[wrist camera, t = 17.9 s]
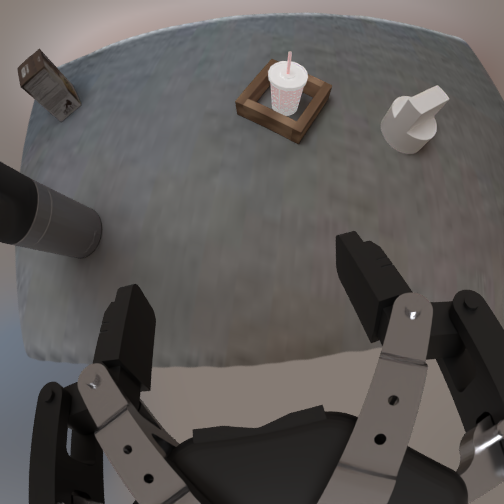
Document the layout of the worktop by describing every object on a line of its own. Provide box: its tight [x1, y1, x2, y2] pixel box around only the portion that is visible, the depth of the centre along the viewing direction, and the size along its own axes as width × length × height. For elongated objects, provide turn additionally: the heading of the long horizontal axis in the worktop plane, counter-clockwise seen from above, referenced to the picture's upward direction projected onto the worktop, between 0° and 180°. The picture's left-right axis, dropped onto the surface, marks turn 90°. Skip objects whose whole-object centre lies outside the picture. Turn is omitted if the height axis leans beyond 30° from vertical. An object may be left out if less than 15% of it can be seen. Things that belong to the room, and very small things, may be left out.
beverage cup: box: [268, 51, 308, 116], centre depth 40 cm, size 6×6×14 cm
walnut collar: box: [235, 59, 332, 144], centre depth 45 cm, size 12×12×4 cm
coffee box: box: [18, 49, 81, 122], centre depth 42 cm, size 9×6×16 cm
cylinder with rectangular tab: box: [381, 85, 449, 154], centre depth 40 cm, size 9×9×12 cm
